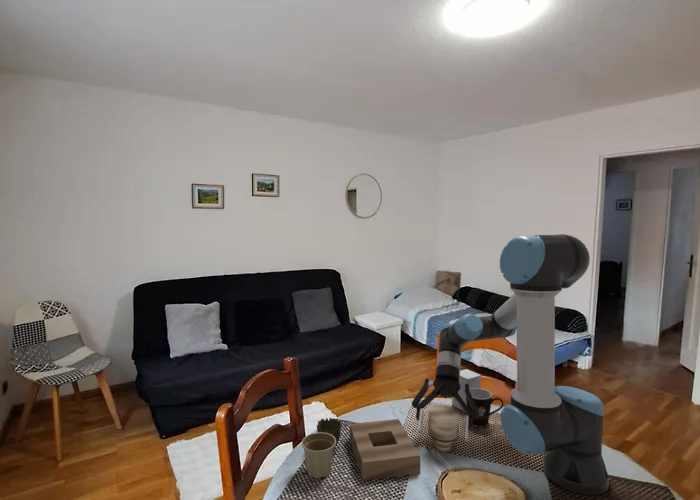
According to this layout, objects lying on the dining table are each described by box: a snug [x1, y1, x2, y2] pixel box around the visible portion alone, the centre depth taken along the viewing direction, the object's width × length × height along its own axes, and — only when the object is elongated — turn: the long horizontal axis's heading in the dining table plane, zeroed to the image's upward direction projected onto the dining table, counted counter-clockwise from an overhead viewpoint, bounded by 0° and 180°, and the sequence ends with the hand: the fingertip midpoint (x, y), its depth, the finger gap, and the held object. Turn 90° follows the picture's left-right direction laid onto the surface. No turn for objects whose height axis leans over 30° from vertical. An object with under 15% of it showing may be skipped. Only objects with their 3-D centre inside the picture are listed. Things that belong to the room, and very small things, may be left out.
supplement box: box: [451, 368, 482, 413], centre depth 143 cm, size 7×7×13 cm
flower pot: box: [301, 432, 337, 479], centre depth 107 cm, size 9×9×9 cm
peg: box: [427, 405, 460, 453], centre depth 117 cm, size 9×9×11 cm
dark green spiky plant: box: [316, 417, 342, 451], centre depth 117 cm, size 8×7×8 cm
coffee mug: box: [466, 388, 504, 427], centre depth 131 cm, size 12×9×10 cm
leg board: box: [349, 418, 421, 481], centre depth 114 cm, size 20×16×5 cm
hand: (442, 435), depth 115 cm, fingers open, 13 cm apart
